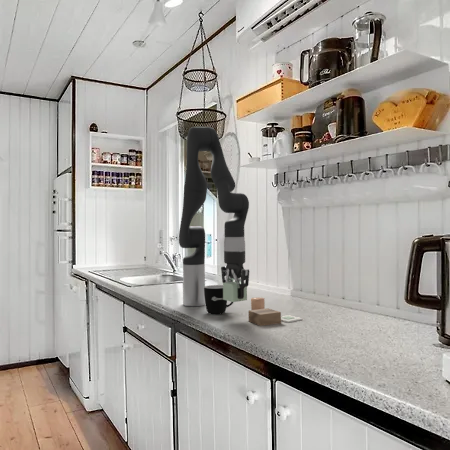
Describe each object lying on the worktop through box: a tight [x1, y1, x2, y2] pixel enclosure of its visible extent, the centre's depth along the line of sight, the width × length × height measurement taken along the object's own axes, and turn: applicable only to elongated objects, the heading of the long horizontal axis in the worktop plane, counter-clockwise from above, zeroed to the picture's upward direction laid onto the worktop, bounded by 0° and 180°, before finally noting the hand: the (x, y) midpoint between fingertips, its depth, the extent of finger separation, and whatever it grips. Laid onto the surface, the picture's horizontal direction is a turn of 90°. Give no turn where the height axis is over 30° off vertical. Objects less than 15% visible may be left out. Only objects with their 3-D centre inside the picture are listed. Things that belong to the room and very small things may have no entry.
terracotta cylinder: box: [250, 297, 266, 310], centre depth 159 cm, size 5×5×6 cm
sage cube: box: [222, 280, 248, 303], centre depth 151 cm, size 6×6×6 cm
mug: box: [204, 284, 234, 316], centre depth 164 cm, size 12×9×10 cm
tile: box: [281, 314, 303, 323], centre depth 150 cm, size 7×7×1 cm
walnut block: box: [248, 307, 282, 327], centre depth 147 cm, size 8×8×4 cm
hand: (235, 297), depth 151 cm, fingers closed on sage cube, 6 cm apart
